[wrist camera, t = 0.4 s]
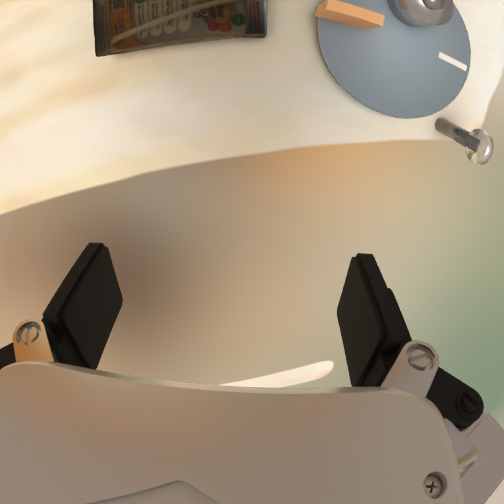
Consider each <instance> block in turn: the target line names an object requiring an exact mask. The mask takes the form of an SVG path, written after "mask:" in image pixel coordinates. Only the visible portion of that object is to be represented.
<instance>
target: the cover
mask: <svg viewBox="0 0 504 504" xmlns="http://www.w3.org/2000/svg"><path fill="white" fill-rule="evenodd" d="M387 2H388V6H389V8H390V10H391V12H392V13H393V15H394V16H395V17H396V18H397V19H398V20H399V21H401V22H402V23H404V24H406V25H409V26H413V27H421V26H439V25H444V24H446V23H447V22H449V21H450V20H451V18H452V16H453V12H454V5H453V0H387Z"/></svg>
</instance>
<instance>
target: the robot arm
mask: <svg viewBox="0 0 504 504" xmlns="http://www.w3.org/2000/svg"><path fill="white" fill-rule="evenodd" d="M122 302H123V298H122V294H121V291H120V288H119V285H118V281H117V278H116V274H115V271H114V268H113V264H112V260H111V257H110V253H109V249H108V248H107V247H105V246H104V244H103V243H89V244H88V245H87V246H86V248H85V249H84V251H83V252H82V253H81V255H80V256H79V258H78V259H77V261H76V262H75V264H74V265H73V267H72V268H71V270H70V271H69V273H68V274H67V276H66V277H65V279H64V280H63V282H62V283H61V285H60V287H59V288H58V290H57V292H56V293H55V295H54V296H53V298H52V300H51V301H50V303H49V304H48V306H47V308H46V310H45V311H44V313H43V316H44V317H43V318H42V320H41V321H40V320H39V319H36V318H32V319H28V320H25V321H23V322H22V323H20V324H19V325H18V326H17V328H16V329H15V331H14V334H13V343H11V344H9V345H7V346H5V347H3V348H1V349H0V504H484V503H485V502H486V501H487V499H488V498H489V497H490V496H491V495H492V493H493V492H494V491H495V489H496V488H497V487H498V486H499V484H500V483H501V482H502V480H503V479H504V430H503V428H502V427H501V426H500V425H499V424H498V423H497V421H496V420H495V419H494V418H493V417H492V416H491V415H490V413H487V414H485V413H484V412H483V409H484V406H483V401H482V398H481V396H480V395H479V394H478V392H476V391H475V390H474V389H473V388H471V387H469V386H468V385H466V384H465V383H463V382H462V381H460V380H458V379H457V378H455V377H454V376H452V375H451V374H449V373H447V372H446V371H444V370H443V369H441V368H440V367H439V356H438V354H437V352H436V350H434V348H433V347H432V346H430V345H429V344H428V343H425V342H423V341H418V340H415V341H412V339H411V336H410V334H409V331H408V329H407V326H406V323H405V321H404V318H403V316H402V313H401V311H400V308H399V306H398V303H397V301H396V299H395V296H394V294H393V292H392V290H391V289H390V288H387V286H386V283H385V281H384V279H383V276H382V274H381V272H380V269H379V267H378V265H377V263H376V261H375V258H374V256H373V255H372V254H363V253H362V254H361V253H358V254H357V255H356V257H352V259H351V262H350V266H349V269H348V273H347V277H346V280H345V284H344V287H343V291H342V294H341V297H340V301H339V305H338V308H337V317H338V322H339V326H340V331H341V336H342V340H343V345H344V350H345V355H346V360H347V365H348V370H349V376H350V381H351V385H352V387H337V388H259V387H236V386H219V385H206V384H193V383H184V382H175V381H166V380H158V379H150V378H143V377H136V376H129V375H123V374H117V373H111V372H105V371H100V370H96V368H97V366H98V364H99V361H100V358H101V356H102V353H103V350H104V348H105V345H106V343H107V340H108V338H109V335H110V333H111V330H112V328H113V325H114V323H115V321H116V318H117V316H118V313H119V311H120V309H121V306H122Z"/></svg>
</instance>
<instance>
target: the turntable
mask: <svg viewBox="0 0 504 504" xmlns="http://www.w3.org/2000/svg"><path fill="white" fill-rule="evenodd" d="M453 5H454V4H453ZM315 17H318V21H317V34H318V40H319V46H320V49H321V52H322V55H323V58H324V60H325V62H326V64H327V66H328V68H329V70H330V71H331V73H332V75H333V76H334V77H335V79H336V80H337V81H338V83H339V84H340V85H341V86H342V87H343V88H344V89H345V90H346V91H347V92H348V93H349V94H350V95H351V96H353V97H354V98H355V99H356V100H358V101H359V102H361V103H362V104H364V105H366V106H368V107H369V108H371V109H373V110H375V111H377V112H380V113H382V114H385V115H388V116H392V117H397V118H420V117H425V116H428V115H432V114H434V113H436V112H438V111H440V110H442V109H443V108H445V107H446V106H447V105H449V104H450V103H451V102H452V101H453V100H454V99H455V98H456V96H457V95H458V94H459V92H460V91H461V89H462V87H463V86H464V83H465V81H466V79H467V75H468V72H469V67H470V55H471V51H470V42H469V37H468V33H467V30H466V27H465V24H464V21H463V19H462V17H461V15H460V13H459V11H458V10H457V8H456V7H455V5H454V12H453V16H452V18H451V20H450V21H449V22H447V23H446V24H444V25H439V26H421V27H413V26H409V25H406V24H404V23H402V22H401V21H399V20H398V19H397V18H396V17H395V16H394V15H393V13H392V12H391V10H390V8H389V6H388V2H387V0H323V1H322V3H321V4H320V5H319V6H318V7H317V10H316V15H315Z"/></svg>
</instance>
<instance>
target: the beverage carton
mask: <svg viewBox="0 0 504 504" xmlns="http://www.w3.org/2000/svg"><path fill="white" fill-rule="evenodd" d="M93 26H94V36H95V53H96V56H97V57H99V56H107V55H113V54H120V53H126V52H132V51H138V50H144V49H150V48H156V47H162V46H169V45H177V44H184V43H193V42H200V41H209V40H218V39H228V38H238V37H251V38H264V37H266V35H267V0H93Z"/></svg>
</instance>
